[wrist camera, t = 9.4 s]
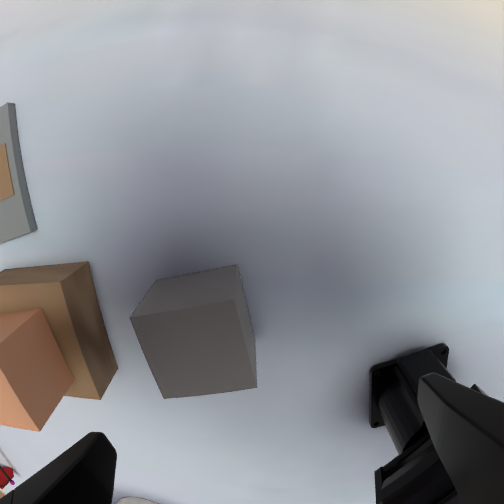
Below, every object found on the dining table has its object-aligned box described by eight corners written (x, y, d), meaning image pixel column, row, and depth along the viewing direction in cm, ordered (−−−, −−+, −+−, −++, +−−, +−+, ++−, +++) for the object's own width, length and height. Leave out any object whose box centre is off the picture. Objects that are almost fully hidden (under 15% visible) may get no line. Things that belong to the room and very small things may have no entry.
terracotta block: (74, 379, 17) (40, 431, 12) (24, 379, 17) (-12, 422, 12) (41, 307, 15) (-9, 351, 11) (-8, 315, 16) (-53, 351, 11)
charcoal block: (255, 337, 20) (257, 387, 15) (180, 349, 20) (163, 398, 15) (237, 264, 19) (234, 299, 14) (156, 280, 19) (129, 317, 14)
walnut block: (119, 365, 21) (100, 399, 17) (38, 360, 21) (14, 387, 17) (90, 259, 19) (60, 281, 15) (7, 268, 19) (-26, 286, 15)
